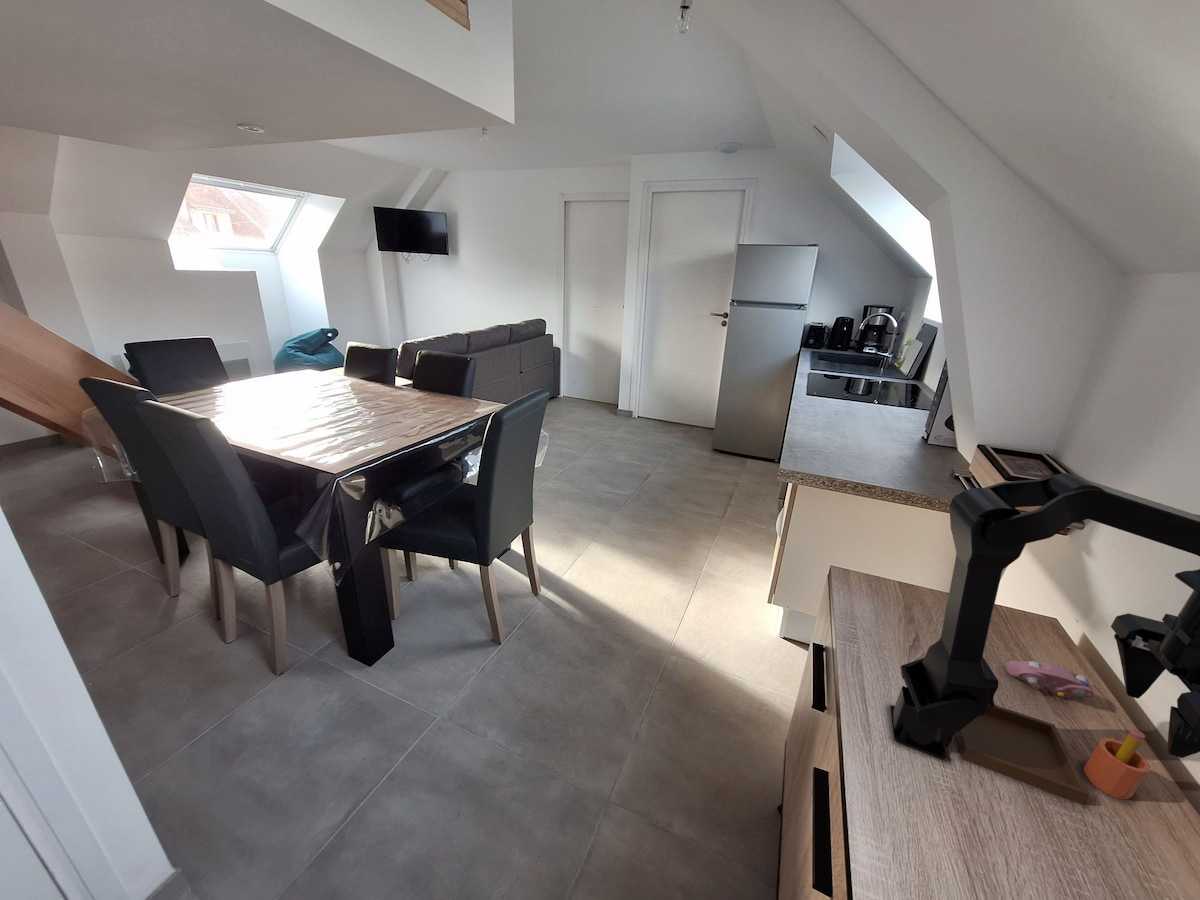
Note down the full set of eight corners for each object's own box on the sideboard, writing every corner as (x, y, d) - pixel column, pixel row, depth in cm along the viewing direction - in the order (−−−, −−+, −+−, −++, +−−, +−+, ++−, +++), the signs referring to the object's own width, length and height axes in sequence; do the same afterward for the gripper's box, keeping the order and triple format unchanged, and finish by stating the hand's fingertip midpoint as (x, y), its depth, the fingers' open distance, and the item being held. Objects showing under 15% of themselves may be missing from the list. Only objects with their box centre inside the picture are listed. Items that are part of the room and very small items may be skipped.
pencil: (1104, 781, 62) (1134, 734, 59) (1100, 773, 63) (1129, 727, 60) (1116, 785, 62) (1147, 739, 58) (1112, 777, 63) (1142, 731, 59)
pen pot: (1092, 789, 61) (1110, 761, 60) (1077, 759, 65) (1093, 732, 63) (1138, 806, 60) (1158, 778, 58) (1120, 774, 64) (1138, 747, 62)
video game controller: (1005, 687, 79) (1025, 673, 74) (1001, 662, 81) (1020, 647, 76) (1079, 710, 75) (1106, 697, 70) (1073, 683, 77) (1098, 668, 73)
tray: (961, 758, 65) (966, 748, 64) (945, 698, 74) (949, 689, 74) (1083, 804, 60) (1089, 794, 59) (1049, 733, 69) (1054, 724, 68)
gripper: (1417, 724, 41) (1312, 831, 47) (1257, 603, 57) (1193, 694, 62) (1238, 675, 46) (1162, 778, 51) (1135, 575, 61) (1086, 663, 67)
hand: (1151, 723), depth 58 cm, fingers open, 9 cm apart
